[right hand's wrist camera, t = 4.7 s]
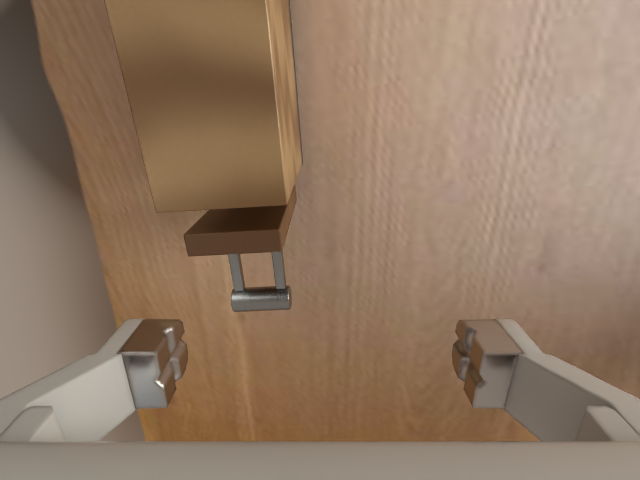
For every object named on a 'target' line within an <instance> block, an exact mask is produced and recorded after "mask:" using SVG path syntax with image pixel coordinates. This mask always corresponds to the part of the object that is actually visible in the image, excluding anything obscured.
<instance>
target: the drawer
mask: <svg viewBox="0 0 640 480" xmlns="http://www.w3.org/2000/svg"><path fill="white" fill-rule="evenodd" d="M295 204H296V189H295V185H294V187H293V190H292V193H291V195H290V198H289V201H288V204H287V205H279V206H262V207H245V208H228V209H211V210H209V211H208V212H207V213H206V214H204V215H203V216H202V217H201V218H200V219H199V220H198V221H197V222H196V223H195V224H194V225H193V226H192V227H191V228H190V229H189V230H188V231H187V232H186V233H185V234H184V239H185V244H186V248H187V253H188V256H206V255H225V254H228V256H229V262H230V268H231V273H232V279H233V285H234V289H233V291H232V295H231V305H232V309H233V311H234V312H244V311H265V310H286V309H291V303H292V297H291V288H290V286H286V278H285V270H284V261H283V252H282V249H283V246H284V242H285V239H286V235H287V232H288V228H289V225H290V221H291V218H292V214H293V211H294V207H295ZM262 252H272V259H273V267H274V275H275V283H276V286H270V287H249V288H245V282H244V276H243V270H242V264H241V258H240V254H244V253H262Z"/></svg>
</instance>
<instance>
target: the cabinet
mask: <svg viewBox="0 0 640 480" xmlns="http://www.w3.org/2000/svg"><path fill="white" fill-rule="evenodd" d="M104 1H105V6H106V10H107V14H108V18H109V22H110V26H111V30H112V34H113V38H114V42H115V46H116V51H117V55H118V59H119V63H120V67H121V71H122V75H123V79H124V83H125V87H126V91H127V95H128V100H129V104H130V108H131V112H132V116H133V120H134V124H135V128H136V132H137V136H138V140H139V144H140V149H141V153H142V157H143V161H144V165H145V169H146V173H147V177H148V181H149V185H150V189H151V193H152V198H153V202H154V206H155V210H156V212H157V213H160V212H177V211H194V210H211V209H228V208H245V207H262V206H279V205H287V204H288V201H289V198H290V195H291V193H292V190H293V187H294V184H295V182H296V179H297V176H298V173H299V170H300V168H301V165H302V163H303V159H302V146H301V134H300V122H299V110H298V98H297V86H296V73H295V61H294V49H293V37H292V25H291V13H290V1H289V0H104Z"/></svg>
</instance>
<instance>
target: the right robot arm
mask: <svg viewBox="0 0 640 480" xmlns="http://www.w3.org/2000/svg"><path fill="white" fill-rule="evenodd" d="M184 332H185V331H184V327H183V322H182V321H181V320H180V319H128V320H125V321H124V322H123V324H122V325H121V326H120V327H119V328H118V329H117V330H116V332H115V333H114V334H113V335H112V336H111V337H110V338H109V340H108V341H107V342H106V343H105V344H104V345H103V347H102V348H101V349H100V350H99V351H98V352H97V353H96V354H89V355H87V356H85V357H83V358H81V359H79V360H77V361H75V362H73V363H71V364H69V365H67V366H65V367H63V368H61V369H59V370H57V371H55V372H53V373H51V374H49V375H47V376H45V377H43V378H41V379H39V380H37V381H35V382H33V383H31V384H29V385H27V386H25V387H23V388H21V389H19V390H17V391H15V392H13V393H11V394H9V395H8V396H5V397H3V398H1V399H0V480H640V399H638V398H636V397H634V396H632V395H630V394H628V393H626V392H624V391H622V390H620V389H618V388H616V387H614V386H612V385H610V384H608V383H606V382H604V381H602V380H600V379H599V378H597V377H595V376H593V375H591V374H589V373H587V372H585V371H583V370H581V369H579V368H577V367H575V366H573V365H571V364H569V363H567V362H565V361H563V360H561V359H559V358H557V357H555V356H553V355H551V354H544V353H543V352H542V351H541V350H540V349H539V348H538V346H537V345H536V344H535V343H534V342H533V341H532V340H531V338H530V337H529V336H528V335H527V334H526V333H525V332H524V330H523V329H522V328H521V327H520V326H519V325H518V324H517V323H516V321H515V320H513V319H487V320H459V321H458V323H457V326H456V331H455V332H456V334H457V336H458V337H459V339H458V340H457V341H456V342H455V343H454V344H453V350H452V360H453V366H454V369H455V372H456V374H457V376H458V378H460V379H461V380H463V381H464V382H465V384H464V391H465V393H466V395H467V397H468V399H469V401H470V403H471V405H472V407H473V408H501V409H505V411H506V412H507V413H509V414H510V415H511V416H512V417H513V418H515V419H516V420H517V421H518V422H519V423H520V424H522V425H523V426H524V427H525V428H526V429H528V430H529V431H530V432H531V433H532V434H534V435H535V436H536V437H537V438H538V439H540V440H541V441H99V440H101V439H102V438H103V437H104V436H105V435H107V434H108V433H109V432H110V431H111V430H112V429H114V428H115V427H116V426H117V425H118V424H120V423H121V422H122V421H123V420H124V419H126V418H127V417H128V416H129V415H130V414H132V413H133V412H134V411H135V409H139V408H167V407H168V405H169V403H170V401H171V399H172V397H173V395H174V393H175V391H176V385H175V382H176V381H177V380H179V379H180V378H182V376H183V374H184V372H185V370H186V365H187V361H188V349H187V344H186V343H185V342H184V341H183V340H182V339H181V337H182V336H183V334H184Z"/></svg>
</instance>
